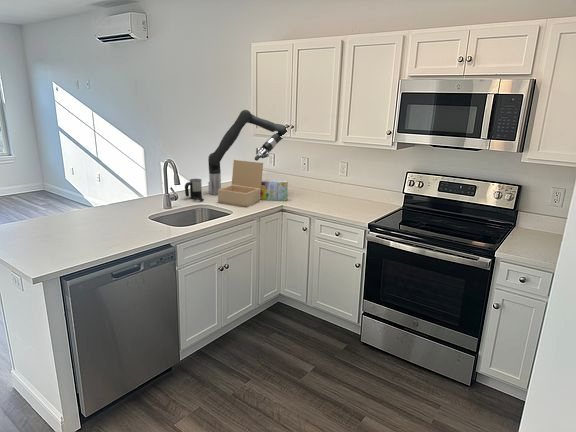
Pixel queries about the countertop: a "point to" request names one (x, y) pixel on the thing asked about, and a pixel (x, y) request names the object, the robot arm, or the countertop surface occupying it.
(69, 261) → the countertop surface
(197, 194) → the milk frother
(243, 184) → the carton lid
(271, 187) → the snack box
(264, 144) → the robot arm
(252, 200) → the carton
